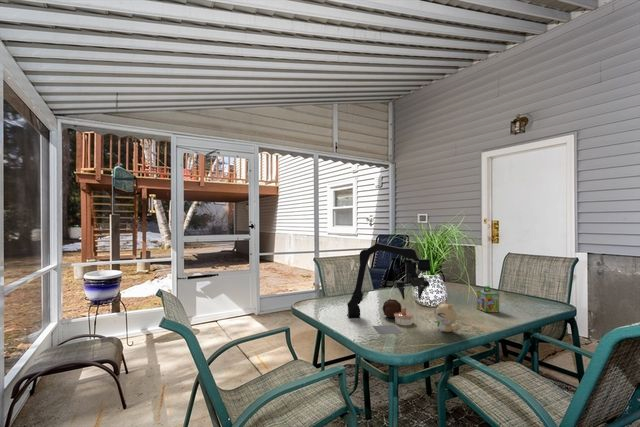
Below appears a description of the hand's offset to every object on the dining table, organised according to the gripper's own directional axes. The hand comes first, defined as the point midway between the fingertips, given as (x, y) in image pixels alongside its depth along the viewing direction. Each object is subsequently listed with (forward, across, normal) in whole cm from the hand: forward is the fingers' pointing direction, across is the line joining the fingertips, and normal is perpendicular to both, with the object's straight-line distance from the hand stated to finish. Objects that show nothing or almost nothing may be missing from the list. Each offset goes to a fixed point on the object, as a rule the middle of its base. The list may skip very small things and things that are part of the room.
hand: (411, 299), depth 173 cm
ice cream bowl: (+8, -5, +15) cm, 18 cm away
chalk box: (+13, +55, +12) cm, 58 cm away
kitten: (+13, +10, -16) cm, 23 cm away
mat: (+12, -19, -12) cm, 25 cm away
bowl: (+12, -6, -3) cm, 14 cm away
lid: (+8, -6, -3) cm, 10 cm away
